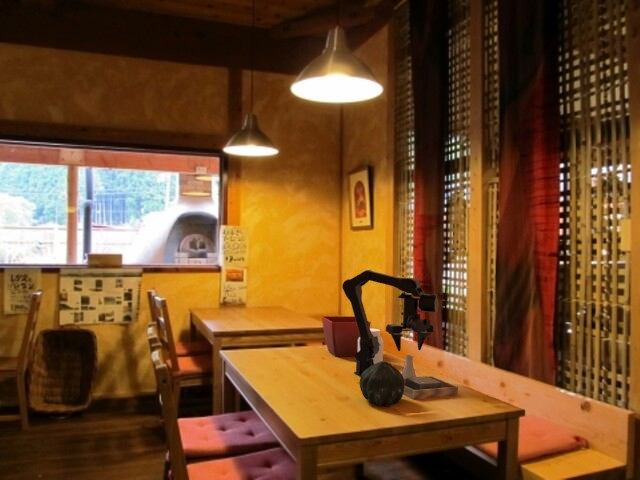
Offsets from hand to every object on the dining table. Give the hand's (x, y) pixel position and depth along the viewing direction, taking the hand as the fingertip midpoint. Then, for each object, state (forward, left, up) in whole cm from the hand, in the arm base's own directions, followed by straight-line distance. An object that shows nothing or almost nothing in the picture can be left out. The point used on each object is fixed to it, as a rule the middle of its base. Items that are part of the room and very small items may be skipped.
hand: (409, 350), depth 208 cm
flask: (0, 0, -12) cm, 12 cm away
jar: (0, +32, -12) cm, 34 cm away
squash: (-24, -22, -12) cm, 35 cm away
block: (-4, -16, -11) cm, 20 cm away
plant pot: (-2, +54, -12) cm, 55 cm away
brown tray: (-4, -16, -12) cm, 20 cm away
